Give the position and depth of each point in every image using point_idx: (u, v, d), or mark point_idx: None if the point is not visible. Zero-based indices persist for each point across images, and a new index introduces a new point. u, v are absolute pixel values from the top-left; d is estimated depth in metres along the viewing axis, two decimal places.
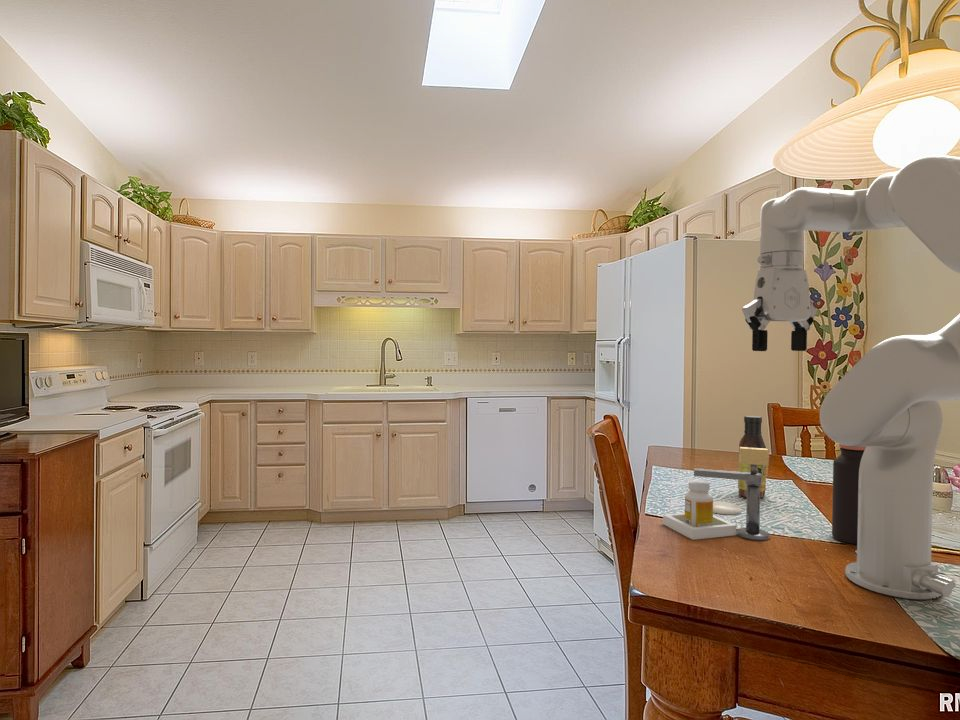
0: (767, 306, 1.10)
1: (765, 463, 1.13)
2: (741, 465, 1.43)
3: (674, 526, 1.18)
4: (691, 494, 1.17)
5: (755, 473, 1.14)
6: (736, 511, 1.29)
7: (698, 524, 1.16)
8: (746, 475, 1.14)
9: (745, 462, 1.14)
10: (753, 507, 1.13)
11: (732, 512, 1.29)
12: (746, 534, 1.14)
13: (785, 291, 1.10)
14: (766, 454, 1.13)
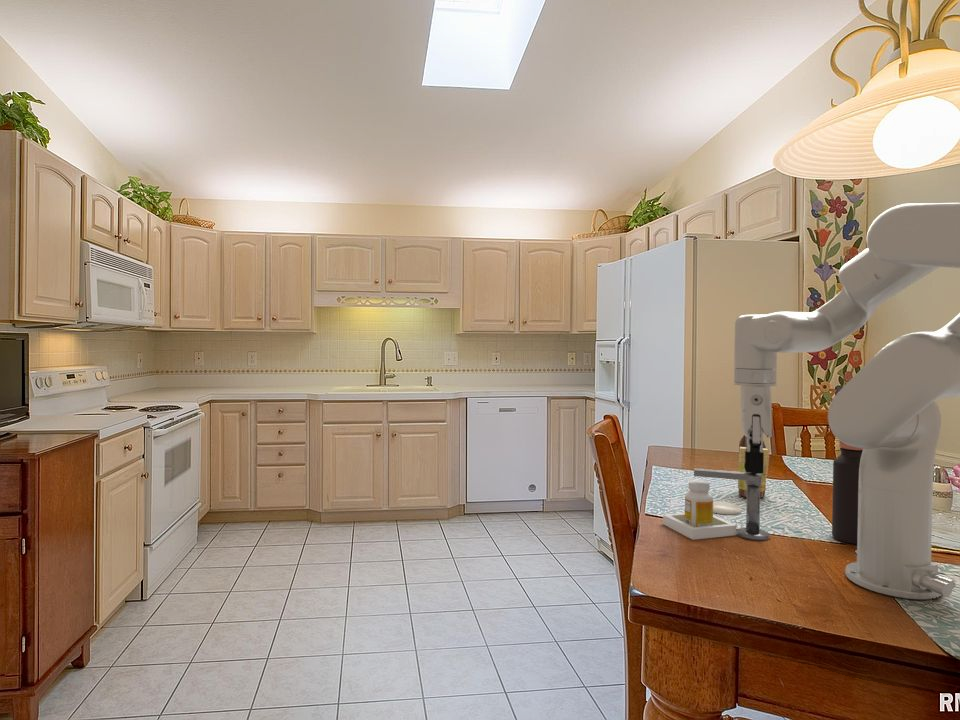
0: (767, 425, 1.09)
1: (765, 463, 1.13)
2: (741, 465, 1.43)
3: (674, 526, 1.18)
4: (691, 494, 1.17)
5: (755, 473, 1.14)
6: (736, 511, 1.29)
7: (698, 524, 1.16)
8: (746, 475, 1.14)
9: None
10: (753, 507, 1.13)
11: (732, 512, 1.29)
12: (746, 534, 1.14)
13: None
14: (766, 454, 1.13)
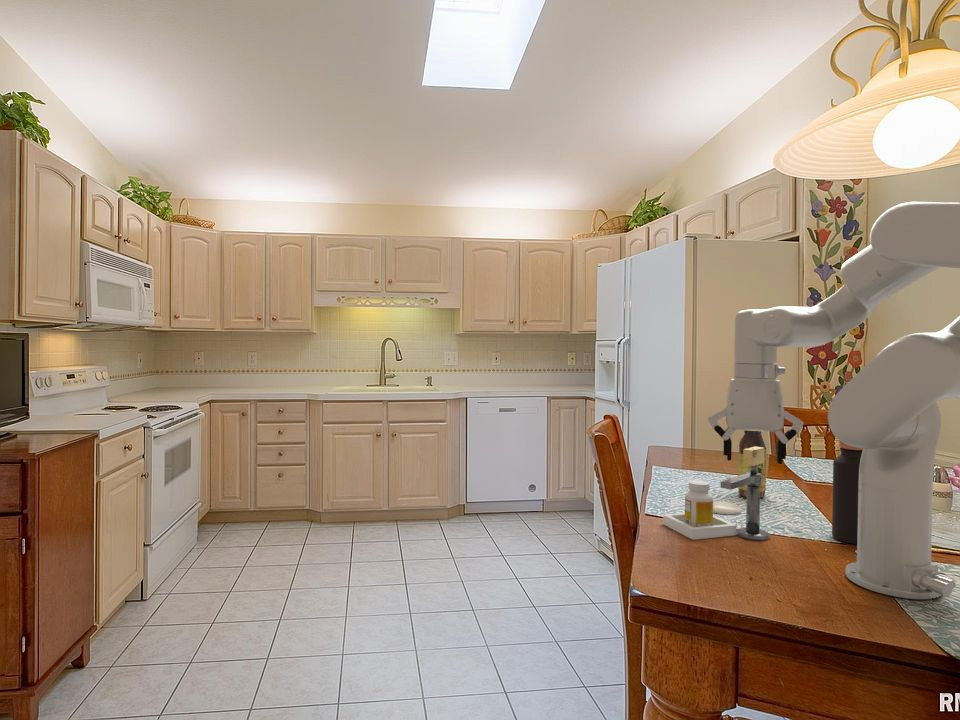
0: None
1: (763, 461, 1.15)
2: (741, 465, 1.43)
3: (674, 526, 1.18)
4: (691, 494, 1.17)
5: (757, 473, 1.14)
6: (736, 511, 1.29)
7: (698, 524, 1.16)
8: (755, 476, 1.13)
9: (754, 463, 1.13)
10: (753, 507, 1.13)
11: (732, 512, 1.29)
12: (746, 534, 1.14)
13: None
14: (763, 452, 1.15)
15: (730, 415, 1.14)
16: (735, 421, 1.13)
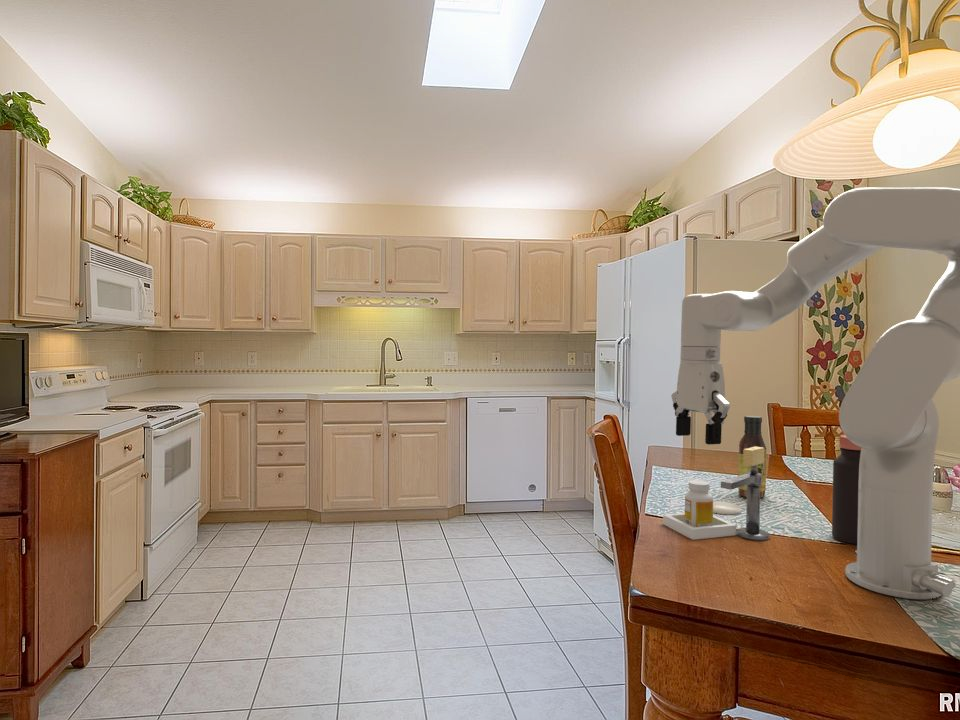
0: None
1: (763, 461, 1.15)
2: (741, 465, 1.43)
3: (674, 526, 1.18)
4: (691, 494, 1.17)
5: (757, 473, 1.14)
6: (736, 511, 1.29)
7: (698, 524, 1.16)
8: (755, 476, 1.13)
9: (754, 463, 1.13)
10: (753, 507, 1.13)
11: (732, 512, 1.29)
12: (746, 534, 1.14)
13: None
14: (763, 452, 1.15)
15: (677, 394, 1.21)
16: (679, 400, 1.21)
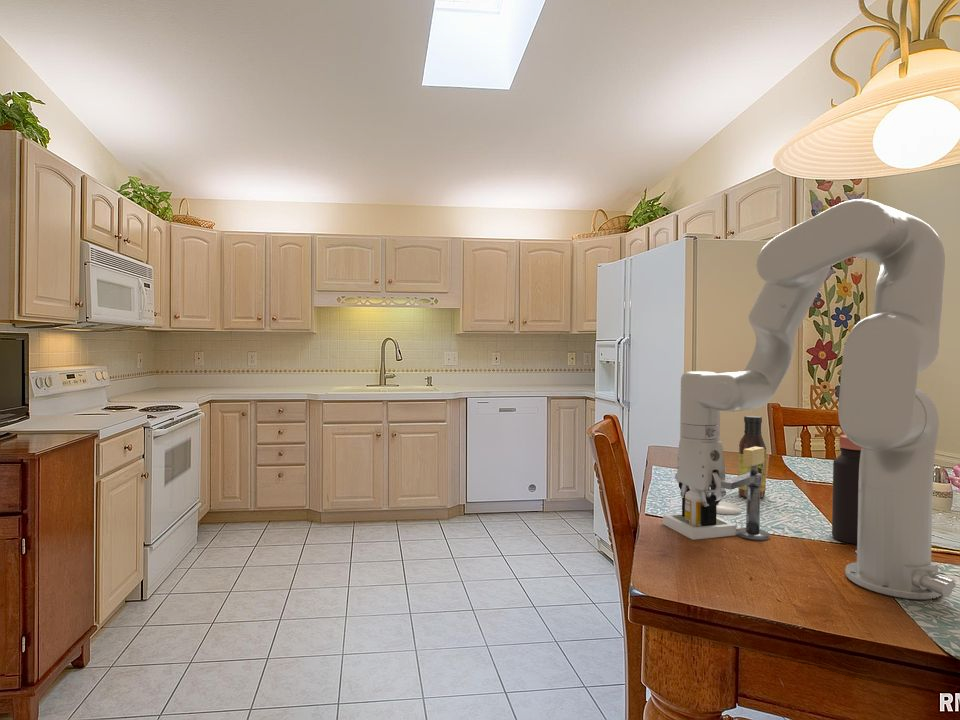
0: (723, 479, 1.14)
1: (763, 461, 1.15)
2: (741, 465, 1.43)
3: (674, 526, 1.18)
4: (691, 494, 1.17)
5: (757, 473, 1.14)
6: (736, 511, 1.29)
7: (698, 524, 1.16)
8: (755, 476, 1.13)
9: (754, 463, 1.13)
10: (753, 507, 1.13)
11: (732, 512, 1.29)
12: (746, 534, 1.14)
13: None
14: (763, 452, 1.15)
15: (677, 469, 1.22)
16: (679, 475, 1.21)
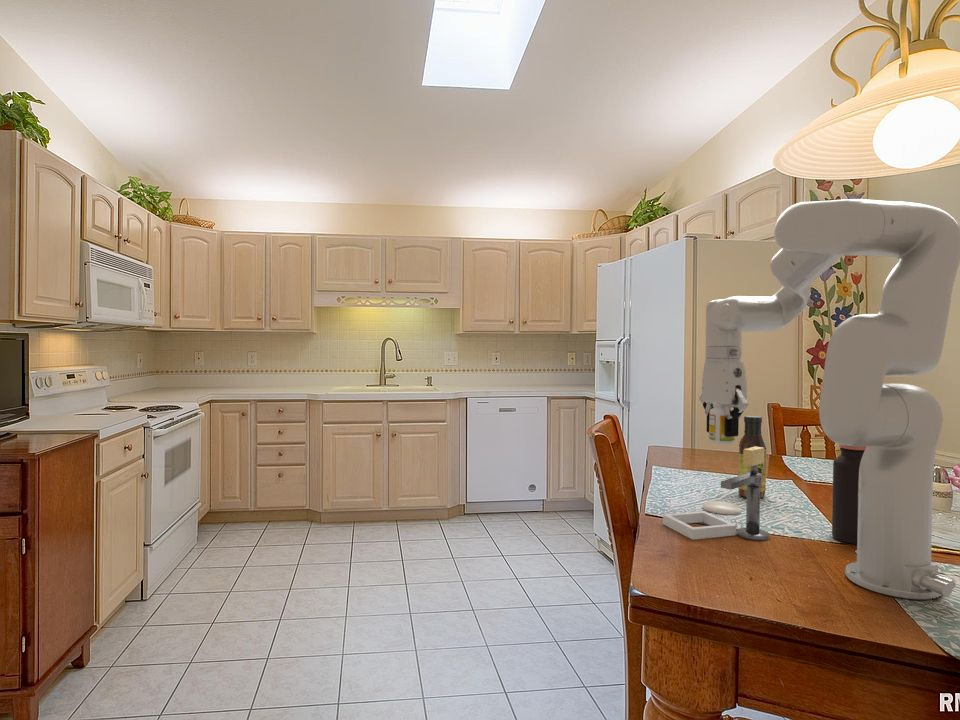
0: (745, 394, 1.27)
1: (763, 461, 1.15)
2: (741, 465, 1.43)
3: (674, 526, 1.18)
4: (715, 409, 1.31)
5: (757, 473, 1.14)
6: (736, 511, 1.29)
7: (722, 436, 1.29)
8: (755, 476, 1.13)
9: (754, 463, 1.13)
10: (753, 507, 1.13)
11: (732, 512, 1.29)
12: (746, 534, 1.14)
13: None
14: (763, 452, 1.15)
15: (702, 390, 1.35)
16: (704, 395, 1.34)
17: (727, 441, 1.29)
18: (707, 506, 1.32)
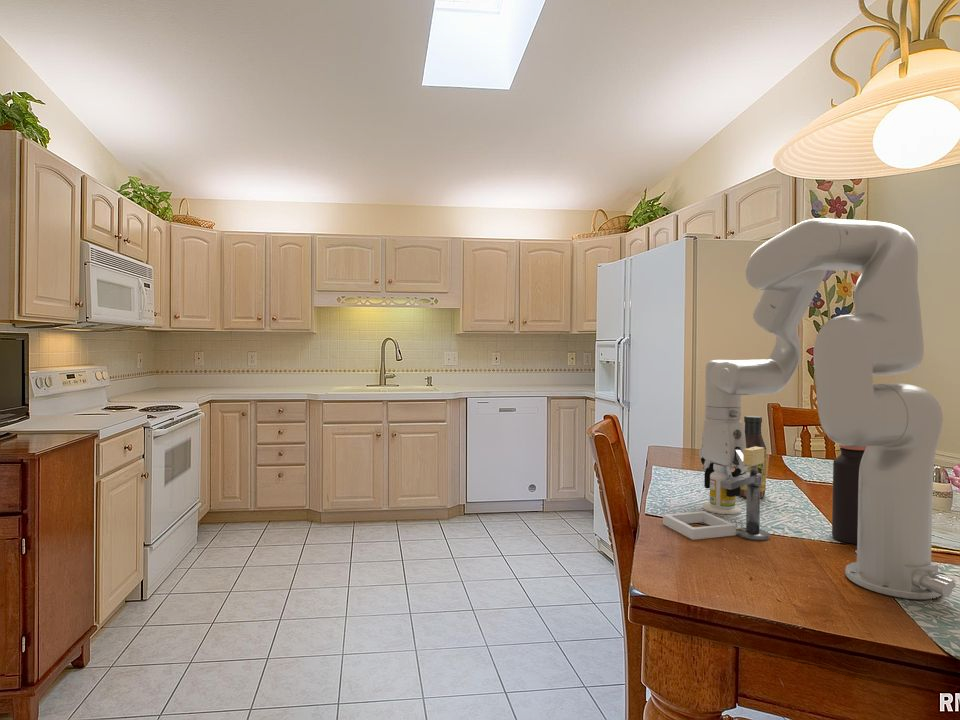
0: None
1: (763, 461, 1.15)
2: None
3: (674, 526, 1.18)
4: (715, 474, 1.31)
5: (757, 473, 1.14)
6: (736, 511, 1.29)
7: (723, 501, 1.30)
8: (755, 476, 1.13)
9: (754, 463, 1.13)
10: (753, 507, 1.13)
11: (732, 512, 1.29)
12: (746, 534, 1.14)
13: None
14: (763, 452, 1.15)
15: (702, 447, 1.36)
16: (704, 453, 1.35)
17: (728, 507, 1.30)
18: (707, 506, 1.32)
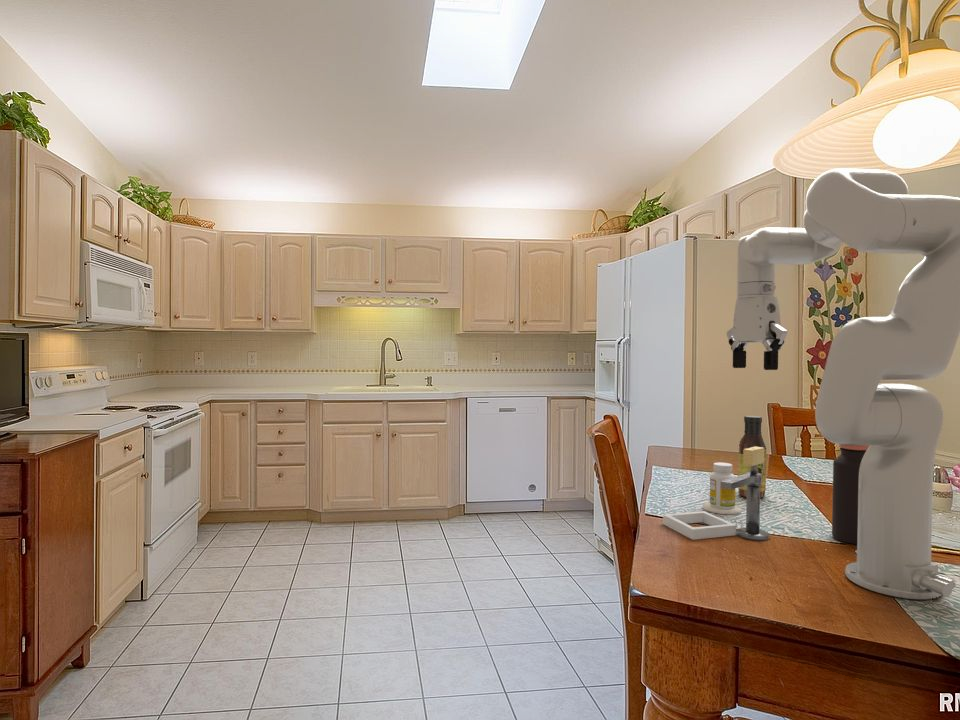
0: None
1: (763, 461, 1.15)
2: (741, 465, 1.43)
3: (674, 526, 1.18)
4: (715, 474, 1.31)
5: (757, 473, 1.14)
6: (736, 511, 1.29)
7: (723, 501, 1.30)
8: (755, 476, 1.13)
9: (754, 463, 1.13)
10: (753, 507, 1.13)
11: (732, 512, 1.29)
12: (746, 534, 1.14)
13: None
14: (763, 452, 1.15)
15: (733, 329, 1.33)
16: (736, 334, 1.32)
17: (728, 506, 1.30)
18: (707, 506, 1.32)
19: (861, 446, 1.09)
